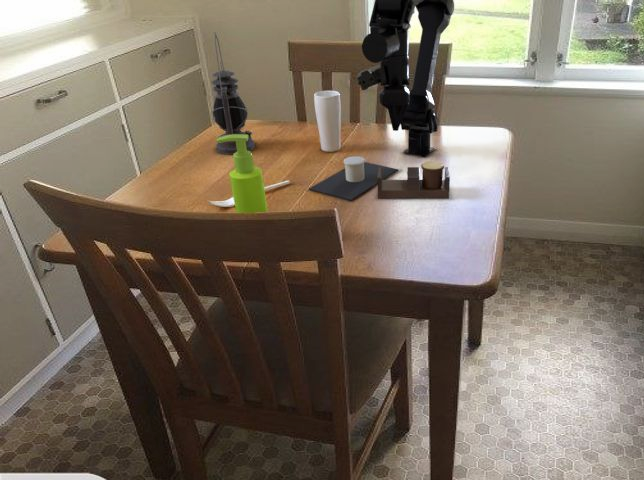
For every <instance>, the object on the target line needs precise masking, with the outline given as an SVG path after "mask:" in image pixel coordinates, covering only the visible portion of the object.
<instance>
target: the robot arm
mask: <svg viewBox="0 0 644 480" xmlns="http://www.w3.org/2000/svg"><path fill="white" fill-rule="evenodd" d="M415 8H416V10H415ZM415 11H417V12H418V14H417V18H418V21H419V24H420V27H421V36H420V41H419V47H418V53H417V58H416V64H415V69H414V74H413V75H414V76H413V81H412V82H413V83H412V87H411V89H410V73H409V29H411V28H412V27H411V24H410V22H411V21H412V18H413V15H414V14H415ZM454 12H455V1H454V0H374V3H373V7H372V12H371V15H370V19H369V23H368V26H369V31H370V32H369V33H368V34H366V35H365V37H364V38H363V40H362V42H361V43H362V44H361V51H362V54H363V56H364V57H365V59H366V60H367V61H369V62H370V63H373V64H376V65H375V66H374V65H373V66H372V67H368V68H366V69H364V70H361V71H359V72H357V75H356V79H357V84H358V85H359V86H360V89H361V91H366V90H368V89H369V88H371V87H373V86H376V85H379V84H380V87H382V88H381V89H380V90H379V104H380V105H381V106H383V107H384V108H385V109H386V110H387V111H388V115H389V119H390V123H391V128H392V131H394V132H396V131H399V129H400V127H401V130H402V131H408V138H407V143H408V144H407V148H406V149H404V150H403V154H406V155H411V156H417V157H421V158H425V157H427V156H429V155H431V153H433V152H435V151H436V147H433V146H431V140H432V139H431V137H432V134H433V133H436V132H438V131H439V128H438V127H439V125H440V124H439V123H440V120H439V118H438V115H437V113H436V111H435V105H436V104H435V102H434V99H433V97H432V94H431V92H432V86H433V81H434V75H435V69H436V63H437V58H438V53H439V47H440V42H441V37H442V34H443V33H444V31H445V30H446V29H447V28H448V26H449V25H450V22H451V18H452V16H453V14H454ZM378 63H380V64H378ZM377 64H378V65H377Z"/></svg>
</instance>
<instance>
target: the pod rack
mask: <svg viewBox="0 0 644 480" xmlns="http://www.w3.org/2000/svg"><path fill="white" fill-rule="evenodd" d="M406 172H407V176H406V179H385V180H382V167H379V169H378V176H377V185H376V186H377V199H378V200H382V199H383V200H392V199H393V200H400V199H401V200H405V199H406V200H409V199H411V200H414V199H415V200H416V199H417V200H418V199H419V200H427V199H428V200H429V199H431V200H434V199H435V200H440V199H441V200H444V199H446V200H447V199H450V181H451V176H450V169H449V167H448V166H444V179H442V186H441V187H440V188H436V189H429V188H425V187H423V185H422V179H420V167H419V166H408V167H407V171H406Z"/></svg>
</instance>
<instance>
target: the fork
mask: <svg viewBox="0 0 644 480" xmlns="http://www.w3.org/2000/svg"><path fill="white" fill-rule="evenodd" d="M288 184H291V181H290V180H285V181H281V182H278V183H275V184H271V185H266V186H264V189H265V192H266V191H269V190H272V189H276V188H279V187H282V186H285V185H288ZM208 202H209V203H210V204H211V205H213V206H216V207H222V208H232V207H235V203H234V197H233V196H232V197H230V198H228V199H226V200H221V201H220V200H218V201H217V200H208Z"/></svg>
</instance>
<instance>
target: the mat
mask: <svg viewBox="0 0 644 480" xmlns="http://www.w3.org/2000/svg"><path fill="white" fill-rule="evenodd" d="M379 167H382V180H388V178H390V177H392V176H393V175H394V174H396V173H398V172H399V169H398V168H393V167H390V166H385V165H381V164H376V163H370V162H367V161H365V163H364V180H363V181H360V182H349V181H347V180H346V171H345V168H343V169H341V170H340V171H338V172H336V173H334V174H332V175H330V176H328V177H327V178H325V179H323V180H321V181H320V182H318V183H316V184H314V185H313V186H310V187H309V188H308V191H312V192H314V193H318V194H322V195H326V196H330V197H334V198H338V199H341V200H345V201H349V202H352V201H354V200H356V199H357V198H359V197H361V196H362V195H363V194H365V193H366V192H368V191H370V190H371V189H373V188H374V187H376V186H378V185H377V176H378V169H379Z"/></svg>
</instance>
